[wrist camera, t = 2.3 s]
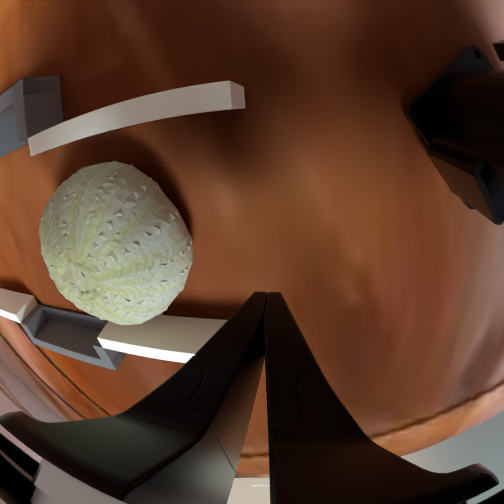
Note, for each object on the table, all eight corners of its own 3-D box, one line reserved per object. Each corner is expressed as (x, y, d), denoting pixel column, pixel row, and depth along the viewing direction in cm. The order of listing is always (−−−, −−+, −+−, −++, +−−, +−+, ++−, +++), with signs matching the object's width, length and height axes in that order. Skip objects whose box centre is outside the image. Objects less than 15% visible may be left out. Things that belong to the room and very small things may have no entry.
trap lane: (238, 19, 9) (223, -4, 6) (262, 357, 18) (258, 392, 16) (-47, 155, 13) (-66, 164, 10) (8, 310, 23) (-6, 325, 20)
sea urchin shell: (28, 179, 12) (1, 211, 6) (143, 145, 16) (198, 152, 10) (69, 303, 16) (88, 386, 11) (163, 266, 20) (219, 326, 15)
